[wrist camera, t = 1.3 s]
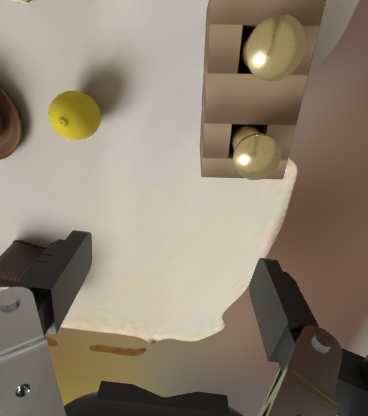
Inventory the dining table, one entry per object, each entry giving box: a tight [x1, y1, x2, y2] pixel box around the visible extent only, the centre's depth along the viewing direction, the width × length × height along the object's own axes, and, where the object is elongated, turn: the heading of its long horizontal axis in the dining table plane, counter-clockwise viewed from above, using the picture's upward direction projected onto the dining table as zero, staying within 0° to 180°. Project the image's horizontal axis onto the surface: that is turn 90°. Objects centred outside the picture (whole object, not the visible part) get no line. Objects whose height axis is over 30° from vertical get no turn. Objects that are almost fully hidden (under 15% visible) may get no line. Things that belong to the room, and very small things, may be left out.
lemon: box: [48, 91, 101, 140], centre depth 31 cm, size 6×6×8 cm
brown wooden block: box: [200, 0, 326, 179], centre depth 28 cm, size 16×9×10 cm, turn 179°
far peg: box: [230, 124, 281, 180], centre depth 26 cm, size 4×4×10 cm
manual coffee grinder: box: [0, 241, 46, 291], centre depth 44 cm, size 16×11×18 cm
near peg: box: [239, 14, 306, 82], centre depth 22 cm, size 4×4×10 cm
